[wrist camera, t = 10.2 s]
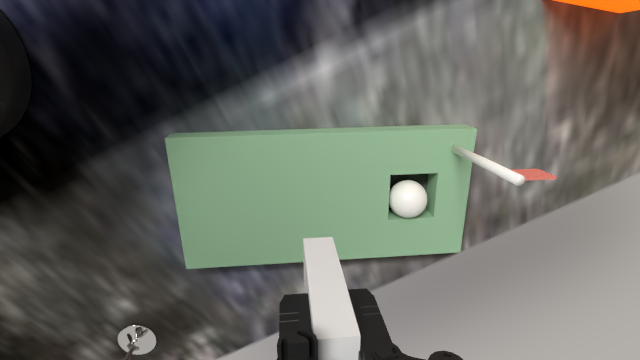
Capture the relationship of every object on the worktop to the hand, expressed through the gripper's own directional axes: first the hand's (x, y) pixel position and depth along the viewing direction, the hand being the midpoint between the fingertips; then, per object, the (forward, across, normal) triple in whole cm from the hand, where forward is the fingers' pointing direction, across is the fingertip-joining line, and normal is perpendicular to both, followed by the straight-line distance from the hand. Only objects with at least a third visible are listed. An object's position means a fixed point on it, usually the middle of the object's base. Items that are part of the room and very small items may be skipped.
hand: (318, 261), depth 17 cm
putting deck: (+19, +3, -4) cm, 20 cm away
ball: (+17, +11, -4) cm, 21 cm away
